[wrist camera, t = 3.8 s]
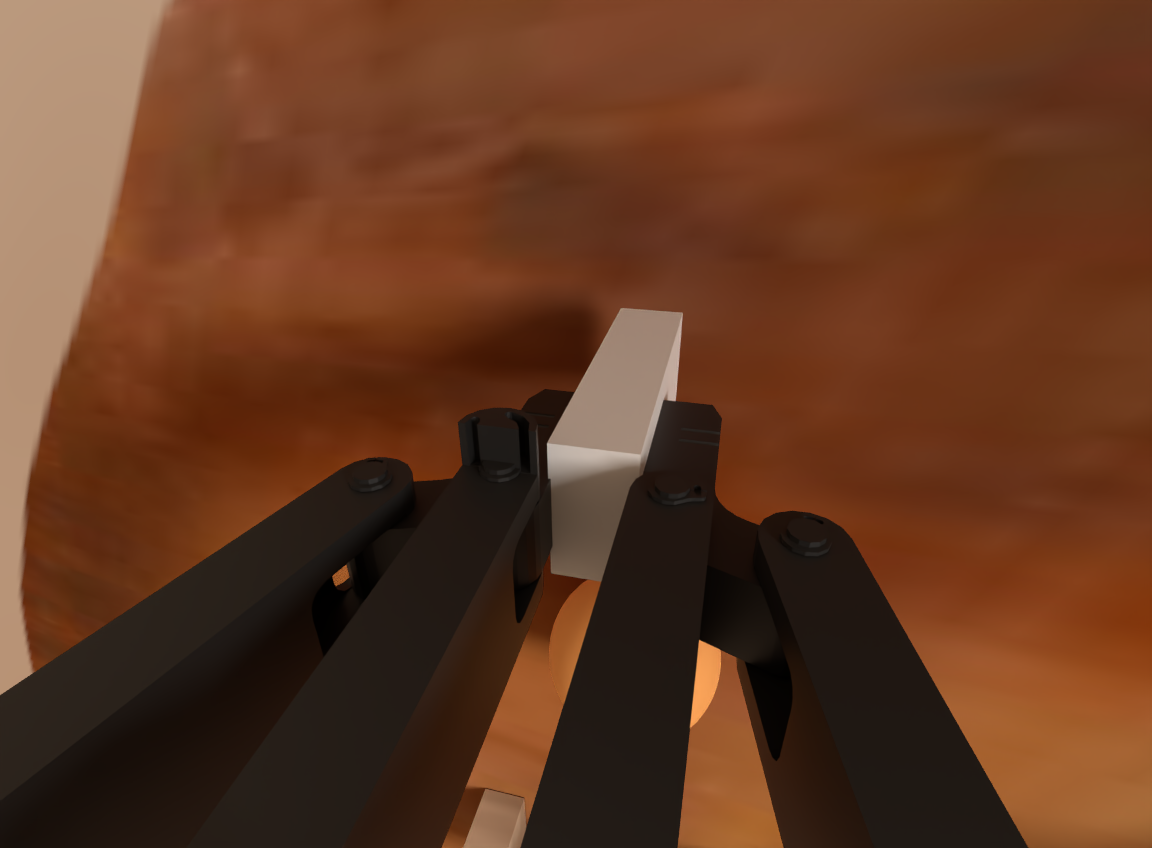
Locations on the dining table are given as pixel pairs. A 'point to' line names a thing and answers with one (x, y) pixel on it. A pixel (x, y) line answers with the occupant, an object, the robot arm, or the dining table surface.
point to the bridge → (498, 822)
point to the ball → (572, 634)
